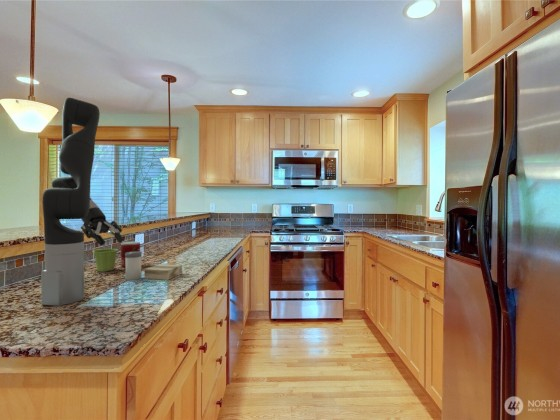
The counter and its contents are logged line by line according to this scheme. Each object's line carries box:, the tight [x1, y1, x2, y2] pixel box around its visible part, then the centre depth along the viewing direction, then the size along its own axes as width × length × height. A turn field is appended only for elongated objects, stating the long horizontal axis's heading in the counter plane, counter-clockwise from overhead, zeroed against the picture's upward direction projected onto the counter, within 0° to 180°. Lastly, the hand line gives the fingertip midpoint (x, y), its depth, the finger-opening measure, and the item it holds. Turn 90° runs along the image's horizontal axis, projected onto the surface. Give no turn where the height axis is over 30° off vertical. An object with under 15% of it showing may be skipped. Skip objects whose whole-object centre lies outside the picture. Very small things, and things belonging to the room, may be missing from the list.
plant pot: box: [91, 248, 119, 273], centre depth 121 cm, size 9×9×9 cm
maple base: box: [143, 263, 183, 281], centre depth 113 cm, size 10×10×4 cm
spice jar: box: [124, 251, 142, 281], centre depth 108 cm, size 6×6×10 cm
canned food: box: [120, 241, 141, 269], centre depth 129 cm, size 8×8×11 cm
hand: (112, 242), depth 111 cm, fingers open, 8 cm apart
